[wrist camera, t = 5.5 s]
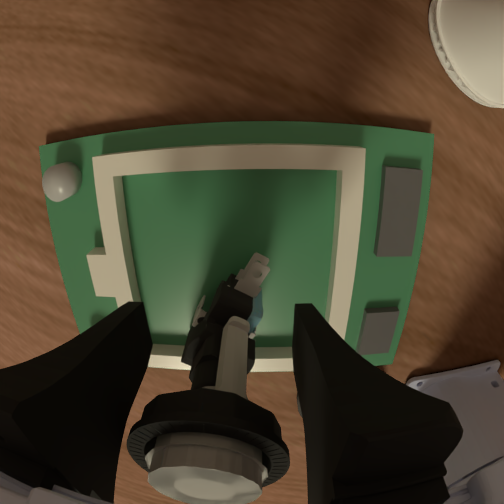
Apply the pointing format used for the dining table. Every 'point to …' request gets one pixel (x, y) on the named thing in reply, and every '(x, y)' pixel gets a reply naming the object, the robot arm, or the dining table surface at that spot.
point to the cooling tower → (471, 46)
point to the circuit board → (243, 227)
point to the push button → (215, 408)
